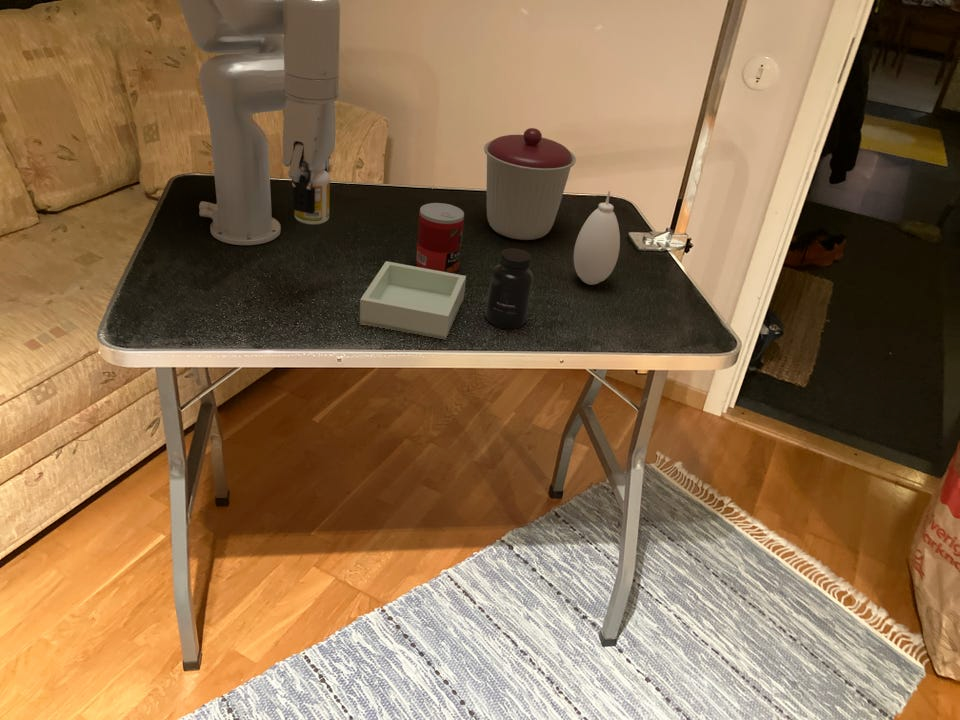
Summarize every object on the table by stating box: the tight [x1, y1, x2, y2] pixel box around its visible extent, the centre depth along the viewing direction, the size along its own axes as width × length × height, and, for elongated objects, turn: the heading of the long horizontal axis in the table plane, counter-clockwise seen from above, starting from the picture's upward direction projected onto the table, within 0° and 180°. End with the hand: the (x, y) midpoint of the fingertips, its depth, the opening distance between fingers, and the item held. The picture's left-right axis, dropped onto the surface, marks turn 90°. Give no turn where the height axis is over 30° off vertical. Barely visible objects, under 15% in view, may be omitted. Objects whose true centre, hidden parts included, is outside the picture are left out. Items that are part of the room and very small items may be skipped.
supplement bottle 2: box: [485, 247, 534, 330], centre depth 121 cm, size 7×7×12 cm
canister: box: [483, 127, 577, 241], centre depth 149 cm, size 18×18×21 cm
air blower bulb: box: [573, 190, 621, 286], centre depth 134 cm, size 8×8×18 cm
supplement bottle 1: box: [293, 161, 331, 225], centre depth 115 cm, size 5×5×10 cm
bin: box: [359, 260, 467, 341], centre depth 122 cm, size 14×14×4 cm
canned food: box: [415, 202, 465, 274], centre depth 134 cm, size 8×8×11 cm
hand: (311, 202), depth 117 cm, fingers closed on supplement bottle 1, 5 cm apart
